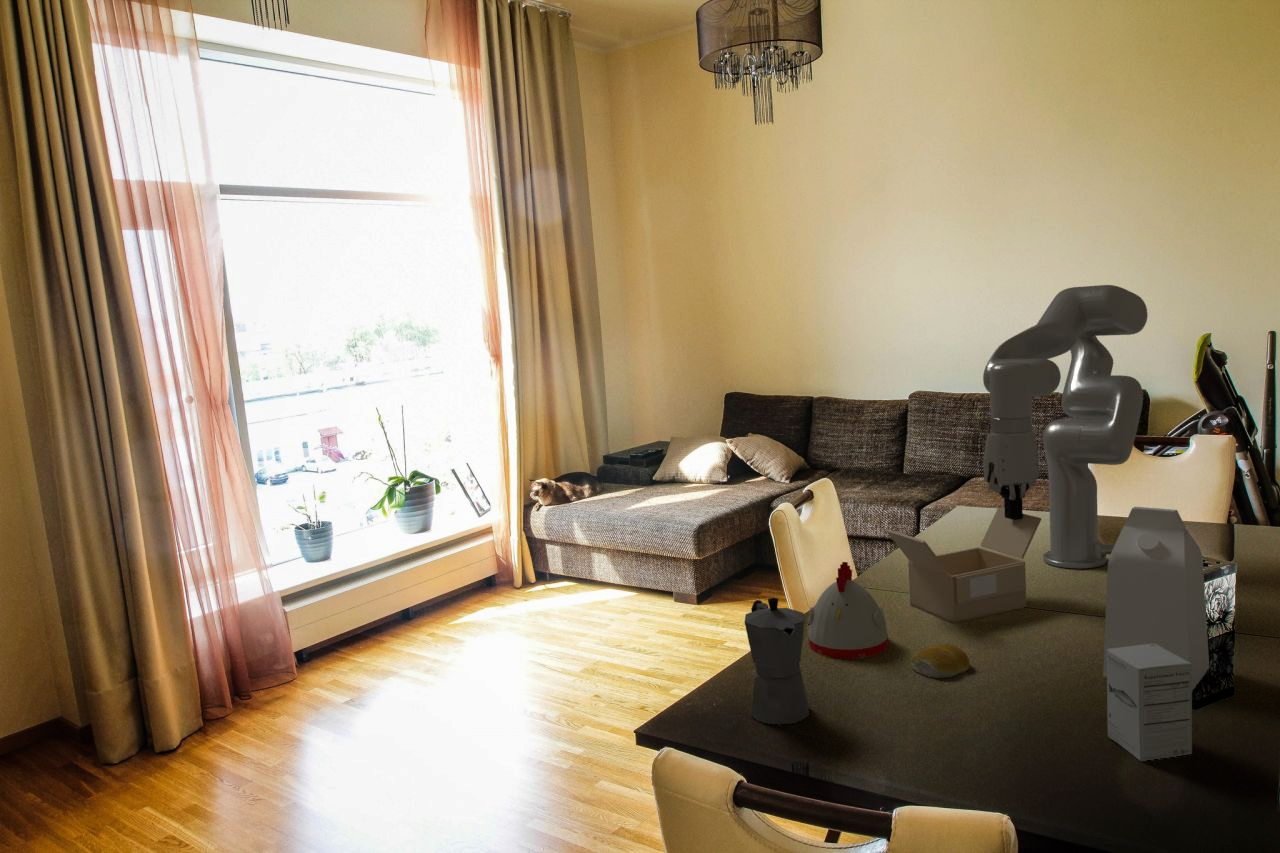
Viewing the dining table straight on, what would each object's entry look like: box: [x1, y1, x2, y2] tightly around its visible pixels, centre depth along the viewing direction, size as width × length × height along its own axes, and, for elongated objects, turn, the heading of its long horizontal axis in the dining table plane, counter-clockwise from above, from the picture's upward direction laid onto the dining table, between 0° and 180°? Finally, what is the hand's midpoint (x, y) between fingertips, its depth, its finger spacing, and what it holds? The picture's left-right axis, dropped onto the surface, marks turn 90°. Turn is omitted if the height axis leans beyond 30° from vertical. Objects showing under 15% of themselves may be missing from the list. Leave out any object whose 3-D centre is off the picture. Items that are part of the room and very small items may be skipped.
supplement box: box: [1106, 644, 1193, 762], centre depth 122 cm, size 7×7×13 cm
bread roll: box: [910, 643, 970, 679], centre depth 153 cm, size 8×9×4 cm
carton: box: [907, 547, 1027, 625], centre depth 181 cm, size 17×14×9 cm
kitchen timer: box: [807, 561, 889, 659], centre depth 166 cm, size 14×14×15 cm
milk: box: [1102, 506, 1210, 692], centre depth 144 cm, size 12×12×26 cm
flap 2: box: [979, 507, 1042, 560], centre depth 184 cm, size 1×11×9 cm
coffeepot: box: [744, 597, 810, 726], centre depth 142 cm, size 15×9×18 cm, turn 13°
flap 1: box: [885, 528, 949, 575], centre depth 177 cm, size 1×11×9 cm
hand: (1013, 518), depth 184 cm, fingers closed
